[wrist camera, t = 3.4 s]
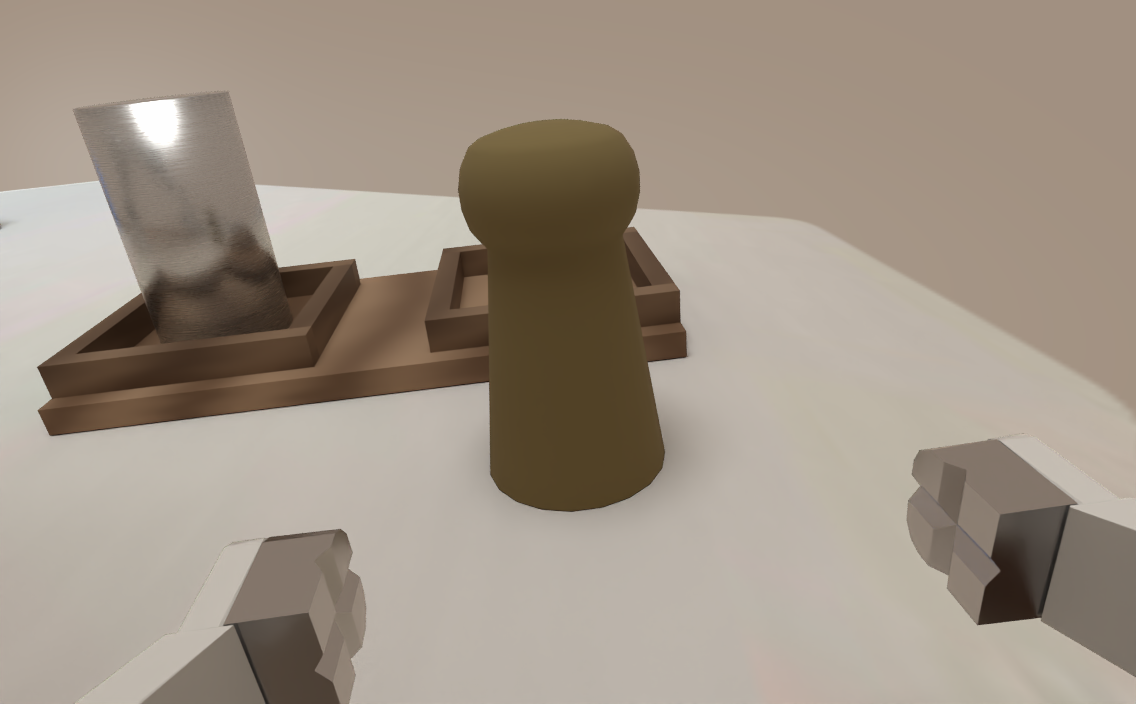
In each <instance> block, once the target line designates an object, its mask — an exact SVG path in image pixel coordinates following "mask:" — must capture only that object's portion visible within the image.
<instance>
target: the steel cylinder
mask: <svg viewBox="0 0 1136 704" xmlns="http://www.w3.org/2000/svg"><path fill="white" fill-rule="evenodd" d="M73 112H74V114H75V117H76V120H77V123H78V125H79V128H80V130H81V133H82V136H83V138H84V141H85V144H86V146H87V149H88V152H89V154H90V157H91V160H92V162H93V165H94V168H95V170H96V173H97V176H98V178H99V181H100V184H101V186H102V189H103V192H104V194H105V197H106V200H107V202H108V205H109V208H110V210H111V213H112V215H113V218H114V221H115V223H116V226H117V229H118V231H119V234H120V237H121V239H122V242H123V245H124V247H125V250H126V253H127V255H128V258H129V261H130V263H131V266H132V269H133V271H134V274H135V277H136V279H137V282H138V285H139V287H140V290H141V292H142V295H143V298H144V300H145V303H146V306H147V308H148V311H149V314H150V316H151V319H152V322H153V324H154V327H155V330H156V332H157V335H158V338H159V340H160V343H161V344H165V343H173V342H182V341H190V340H199V339H207V338H215V337H224V336H232V335H241V334H249V333H257V332H266V331H274V330H283V329H288V328H289V327H290V326H291V324H292V321H293V318H292V315H291V311H290V308H289V304H288V301H287V297H286V293H285V290H284V286H283V283H282V279H281V276H280V272H279V269H278V265H277V262H276V258H275V255H274V251H273V247H272V244H271V240H270V237H269V233H268V230H267V226H266V223H265V219H264V216H263V212H262V208H261V205H260V201H259V198H258V194H257V191H256V187H255V184H254V180H253V177H252V173H251V170H250V166H249V162H248V159H247V155H246V152H245V148H244V145H243V141H242V138H241V134H240V131H239V127H238V124H237V120H236V116H235V113H234V110H233V106H232V103H231V99H230V96H229V92H228V91H214V92H203V93H191V94H181V95H172V96H164V97H154V98H146V99H137V100H129V101H121V102H113V103H106V104H99V105H92V106H85V107H79V108H75V109H73Z"/></svg>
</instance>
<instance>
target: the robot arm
mask: <svg viewBox="0 0 1136 704" xmlns="http://www.w3.org/2000/svg"><path fill="white" fill-rule="evenodd" d="M912 476H913V477H914V478H915V480H916V481H917V482H918V484H919V485H920V487H919V488H918V489H917V491H916V492H915V493H914V494H913V495H912V497H911V498H910V499H909V500H908V509H907V524H908V528H909V533H910V537H911V540H912V542H913V544H914V546H915V548H916V550H917V552H918V553H919V555H920V556H921V557H922V558H923V560H924V561H925V562H926V564H927V565H928V566H930V567H932V568H934V569H936V570H938V571H940V572H942V573H945V574H947V575H948V583H947V589H948V590H949V592H950V593H951V594H952V595H953V597H954V598H955V599H956V600H957V601H958V603H959V604H960V605H961V606H962V607H963V609H964V610H965V611H966V612H967V613H968V615H969V616H970V617H971V618H972V619H973V621H974V622H975V623H976V624H977V625H984V624H992V623H1001V622H1009V621H1018V620H1026V619H1034V618H1041V621H1042V622H1043V623H1045V624H1047V625H1048V626H1050V627H1052V628H1054V629H1055V630H1057V631H1059V632H1060V633H1062V634H1064V635H1065V636H1067V637H1069V638H1070V639H1072V640H1074V641H1076V642H1077V643H1079V644H1081V645H1082V646H1084V647H1086V648H1087V649H1089V650H1091V651H1092V652H1094V653H1096V654H1097V655H1099V656H1101V657H1103V658H1104V659H1106V660H1108V661H1109V662H1111V663H1113V664H1114V665H1116V666H1118V667H1119V668H1121V669H1123V670H1125V671H1126V672H1128V673H1130V674H1131V675H1133V676H1135V677H1136V499H1135V498H1132V497H1130V498H1122V499H1120V498H1118V497H1117V496H1116V495H1114V494H1113V493H1112V492H1110V491H1109V490H1107V489H1106V488H1105V487H1103V486H1102V485H1101V484H1099V483H1098V482H1097V481H1095V480H1094V479H1092V478H1091V477H1090V476H1088V475H1087V474H1086V473H1084V472H1083V471H1081V470H1080V469H1079V468H1077V467H1076V466H1075V465H1073V464H1072V463H1071V462H1069V461H1068V460H1066V459H1065V458H1064V457H1062V456H1061V455H1060V454H1058V453H1057V452H1055V451H1054V450H1053V449H1051V448H1050V447H1049V446H1047V445H1046V444H1044V443H1043V442H1042V441H1040V440H1039V439H1038V438H1036V437H1034V436H1031V435H1027V434H1024V433H1022V434H1016V435H1010V436H1004V437H998V438H992V439H988V440H987V441H980V442H973V443H966V444H959V445H952V446H945V447H938V448H931V449H925V450H919V452H918V454H917V455H916V457H915V459H914V463H913V469H912ZM352 553H353V552H352V549H351V546H350V543H349V540H348V537H347V534H346V533H345V532H344V531H342V530H341V529H336V530H328V531H319V532H310V533H302V534H293V535H284V536H276V537H269V538H260V539H253V540H245V541H238V542H232V543H231V544H229V545H227V546H226V547H224V549H223V550H222V552H221V554H220V556H219V558H218V559H217V561H216V563H215V565H214V567H213V568H212V570H211V572H210V574H209V576H208V577H207V579H206V581H205V583H204V585H203V587H202V588H201V590H200V592H199V594H198V596H197V597H196V599H195V601H194V603H193V605H192V607H191V608H190V610H189V612H188V614H187V616H186V617H185V619H184V621H183V623H182V625H181V627H180V628H179V630H178V632H177V633H172V634H166V635H164V636H163V637H161V638H160V639H159V640H157V641H156V642H155V643H153V644H152V645H151V646H149V647H148V648H147V649H145V650H144V651H143V652H141V653H140V654H139V655H137V656H136V657H135V658H134V659H132V660H131V661H130V662H128V663H127V664H126V665H124V666H123V667H122V668H120V669H119V670H118V671H116V672H115V673H114V674H112V675H111V676H110V677H108V678H107V679H106V680H104V681H103V682H102V683H101V684H99V685H98V686H97V687H95V688H94V689H93V690H91V691H90V692H89V693H87V694H86V695H85V696H83V697H82V698H81V699H79V700H78V701H77V702H75V703H74V704H349V701H350V697H351V693H352V689H353V684H354V680H355V676H356V674H355V671H354V668H353V665H352V661H351V658H352V657H353V656H354V655H355V654H356V653H357V652H358V651H359V650H360V649H361V648H362V645H363V640H364V635H365V630H366V603H365V595H364V590H363V586H362V583H361V579H360V577H359V576H358V575H356V574H355V573H353V572H352V571H351V570H349V569H348V568H349V564H350V560H351V557H352Z"/></svg>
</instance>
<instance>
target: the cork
mask: <svg viewBox="0 0 1136 704" xmlns="http://www.w3.org/2000/svg"><path fill="white" fill-rule="evenodd" d="M458 193H459V198H460V204H461V210H462V213H463V215H464V218H465V220H466V222H467V225H468V227H469V229H470V231H471V232H472V234H473V235H474V236H475V237H476V238H477V239H478V240H479V241H480V242H481V243H482V244H483V245H484V246H485V248H486V249H487V253H488V327H489V401H490V474H491V476H492V478H493V480H494V481H495V483H496V485H497V486H498V488H499V490H501V491H502V492H504V493H505V494H507V495H508V496H510V497H511V498H512V499H514V500H515V501H517V502H520V503H523V504H527V505H530V506H533V507H536V508H540V509H546V510H561V511H577V510H585V509H592V508H600V507H604V506H607V505H610V504H613V503H615V502H618V501H621V500H624V499H627V498H630V497H631V496H633V495H634V494H636V493H637V492H639V491H640V490H642V489H643V488H645V487H646V486H648V485H649V484H650V483H651V482H652V481H653V479H654V478H655V477H656V475H657V474H658V473H659V471H660V470H661V469H662V466H663V460H664V454H665V450H664V445H663V440H662V434H661V429H660V424H659V419H658V414H657V409H656V403H655V398H654V393H653V388H652V383H651V378H650V372H649V367H648V362H647V357H646V352H645V347H644V341H643V336H642V331H641V326H640V321H639V316H638V310H637V305H636V300H635V295H634V290H633V285H632V279H631V274H630V269H629V264H628V259H627V254H626V248H625V243H624V238H623V234H624V232H625V230H626V229H627V227H628V225H629V224H630V222H631V220H632V219H633V217H634V215H635V213H636V209H637V203H638V199H639V193H640V176H639V168H638V164H637V161H636V158H635V154H634V151H633V149H632V148H631V147H630V145H629V143H628V142H627V140H626V139H625V137H624V136H623V134H622V133H620V132H619V131H617V130H615V129H614V128H612V127H610V126H608V125H605V124H599V123H593V122H587V121H581V120H568V119H555V120H554V119H553V120H542V121H533V122H527V123H522V124H518V125H514V126H511V127H507V128H504V129H501V130H498V131H496V132H493V133H491V134H488V135H486V136H483V137H481V138H480V139H478V140H476V141H475V142H474V143H473V144H472V145H471V146H469V147H468V150H467V152H466V155H465V157H464V159H463V162H462V164H461V167H460V174H459V186H458Z"/></svg>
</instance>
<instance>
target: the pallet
mask: <svg viewBox="0 0 1136 704" xmlns="http://www.w3.org/2000/svg"><path fill="white" fill-rule="evenodd" d="M623 238H624V243H625V248H626V254H627V259H628V264H629V269H630V274H631V279H632V285H633V290H634V295H635V300H636V305H637V310H638V316H639V321H640V326H641V331H642V336H643V341H644V347H645V352H646V357H647V361H655V360H663V359H671V358H679V357H687V349H686V330H685V329H684V327H683V326H682V324H681V322H680V290H679V289H678V287H677V286H676V285H675V283H674V282H673V280H672V279H671V278H670V276H669V275H668V273H667V272H666V271H665V269H664V268H663V266H662V265H661V264H660V262H659V261H658V260H657V258H656V257H655V255H654V254H653V253H652V251H651V250H650V248H649V247H648V246H647V244H646V243H645V241H644V240H643V239H642V237H641V236H640V234H639V233H638V232H637V230H636V229H635V228H634V227H630V228H627V229H626V230H625V232H624V234H623ZM278 269H279V272H280V276H281V279H282V283H283V286H284V290H285V293H286V297H287V301H288V304H289V308H290V311H291V315H292V318H293V321H292V324H291V326H290V327H289V328H288V329H283V330H274V331H266V332H257V333H249V334H241V335H232V336H224V337H215V338H207V339H199V340H190V341H182V342H173V343H165V344H161V343H160V340H159V338H158V335H157V332H156V330H155V327H154V324H153V322H152V319H151V316H150V314H149V311H148V308H147V306H146V303H145V300H144V298H143V295H142V293H140V294H139V295H138V296H136V297H135V298H133V299H132V300H131V301H129V302H128V303H126V304H125V305H124V306H122V307H121V308H119V309H118V310H117V311H115V312H114V313H112V314H111V315H110V316H108V317H107V318H105V319H104V320H103V321H101V322H100V323H98V324H97V325H96V326H94V327H93V328H91V329H90V330H89V331H87V332H86V333H84V334H83V335H82V336H80V337H79V338H77V339H76V340H75V341H73V342H72V343H70V344H69V345H68V346H66V347H65V348H63V349H62V350H61V351H59V352H58V353H56V354H55V355H54V356H52V357H51V358H49V359H48V360H47V361H45V362H44V363H42V364H41V365H40V366H38V367H37V368H38V370H39V372H40V374H41V376H42V378H43V380H44V383H45V385H46V387H47V389H48V391H49V393H50V395H51V398H52V399H51V400H50V401H49V402H47V403H46V404H45V405H44V406H43V407H41V408H40V409H39V410H38V412H39V414H40V416H41V418H42V420H43V422H44V425H45V427H46V429H47V431H48V433H49V435H56V434H65V433H73V432H81V431H89V430H97V429H105V428H113V427H121V426H129V425H137V424H145V423H153V422H162V421H170V420H178V419H186V418H194V417H202V416H210V415H218V414H226V413H234V412H242V411H250V410H259V409H267V408H275V407H283V406H291V405H299V404H307V403H315V402H323V401H331V400H339V399H347V398H356V397H364V396H372V395H380V394H388V393H396V392H404V391H412V390H420V389H428V388H436V387H444V386H453V385H461V384H469V383H477V382H485V381H489V327H488V253H487V249H486V248H485V246H484V245H483V244H481V245H473V246H464V247H455V248H447V249H443V252H442V256H441V260H440V263H439V267H438V270H433V271H424V272H416V273H407V274H398V275H390V276H381V277H373V278H364V279H359V274H358V270H357V266H356V261H355V259H351V260H342V261H333V262H324V263H316V264H307V265H298V266H290V267H281V268H278Z"/></svg>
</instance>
